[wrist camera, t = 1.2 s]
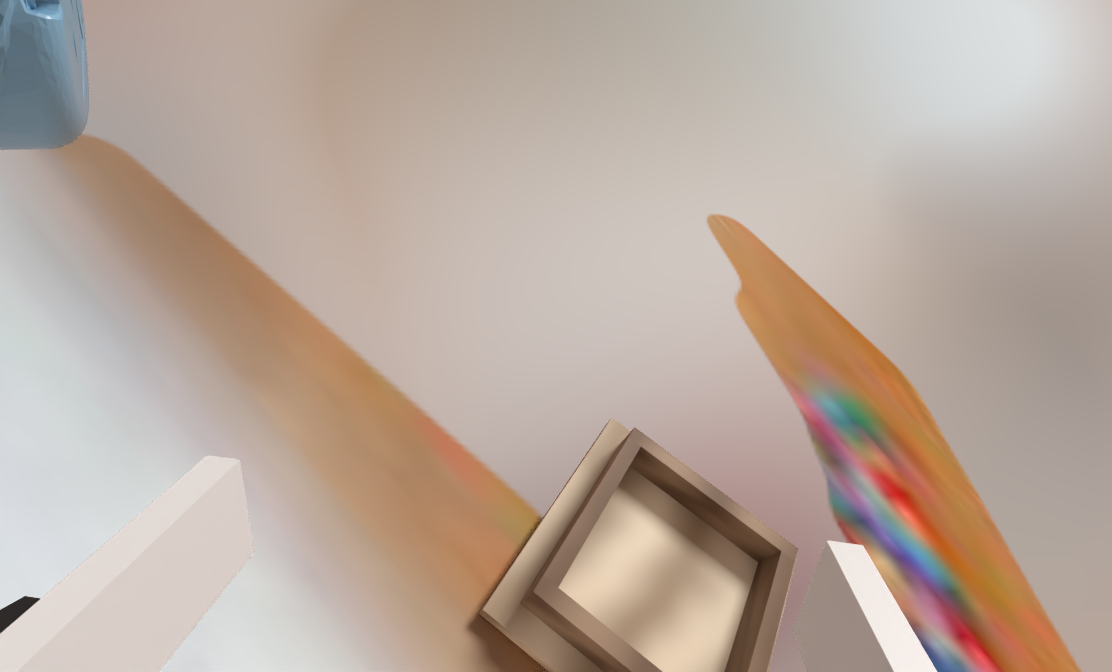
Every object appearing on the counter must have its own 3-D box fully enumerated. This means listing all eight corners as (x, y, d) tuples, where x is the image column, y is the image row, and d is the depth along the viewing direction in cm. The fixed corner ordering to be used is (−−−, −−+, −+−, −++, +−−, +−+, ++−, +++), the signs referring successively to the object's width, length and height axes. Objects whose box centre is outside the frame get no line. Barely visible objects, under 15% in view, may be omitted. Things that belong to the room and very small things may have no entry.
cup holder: (478, 613, 30) (493, 598, 27) (606, 424, 41) (626, 400, 38) (721, 815, 28) (761, 818, 25) (788, 560, 39) (821, 544, 36)
